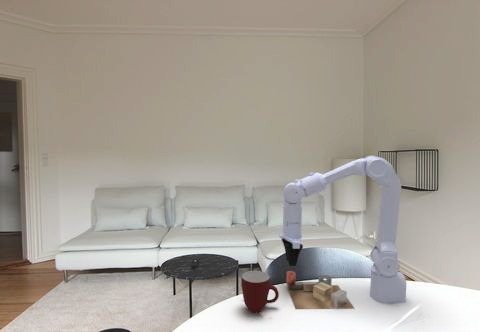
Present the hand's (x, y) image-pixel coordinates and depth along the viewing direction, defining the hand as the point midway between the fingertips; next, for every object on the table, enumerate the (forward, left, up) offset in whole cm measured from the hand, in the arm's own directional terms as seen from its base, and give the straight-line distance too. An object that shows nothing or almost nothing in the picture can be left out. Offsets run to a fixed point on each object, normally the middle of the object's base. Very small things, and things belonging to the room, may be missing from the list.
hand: (291, 263), depth 103 cm
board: (-8, +5, -9) cm, 13 cm away
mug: (+11, +11, -10) cm, 18 cm away
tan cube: (-9, +6, -8) cm, 13 cm away
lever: (-6, 0, -8) cm, 10 cm away
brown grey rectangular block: (-12, +10, -9) cm, 18 cm away
